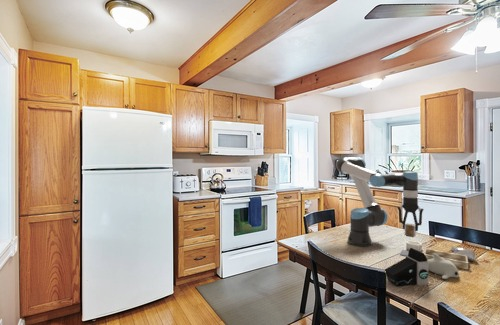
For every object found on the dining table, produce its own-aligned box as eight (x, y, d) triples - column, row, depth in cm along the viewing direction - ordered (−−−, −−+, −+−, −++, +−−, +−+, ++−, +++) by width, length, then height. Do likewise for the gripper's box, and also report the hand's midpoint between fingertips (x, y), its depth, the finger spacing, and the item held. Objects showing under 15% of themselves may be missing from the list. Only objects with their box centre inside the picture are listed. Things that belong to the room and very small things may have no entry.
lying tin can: (451, 258, 149) (451, 247, 149) (451, 255, 153) (451, 245, 154) (474, 262, 142) (474, 251, 143) (473, 259, 147) (473, 249, 147)
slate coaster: (400, 255, 154) (400, 254, 154) (402, 250, 161) (402, 249, 161) (417, 258, 149) (417, 257, 149) (419, 253, 156) (419, 252, 156)
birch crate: (423, 260, 146) (423, 254, 146) (424, 254, 155) (425, 248, 155) (468, 269, 134) (468, 263, 134) (467, 262, 143) (467, 256, 143)
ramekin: (405, 249, 163) (405, 243, 163) (407, 245, 169) (407, 239, 169) (421, 252, 158) (421, 246, 158) (422, 248, 164) (422, 242, 164)
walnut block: (405, 236, 154) (405, 224, 154) (406, 234, 157) (406, 223, 157) (413, 237, 152) (413, 225, 151) (414, 235, 155) (414, 224, 155)
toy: (461, 284, 119) (462, 263, 119) (413, 275, 129) (414, 255, 128) (455, 270, 133) (456, 251, 133) (413, 262, 143) (413, 245, 143)
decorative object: (382, 280, 124) (383, 249, 123) (415, 276, 127) (415, 247, 126) (395, 288, 116) (395, 256, 115) (429, 285, 119) (429, 253, 118)
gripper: (393, 196, 156) (393, 234, 157) (427, 199, 146) (426, 239, 146) (395, 195, 162) (395, 231, 163) (427, 197, 151) (427, 236, 152)
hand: (410, 235), depth 154 cm, fingers closed on walnut block, 4 cm apart
